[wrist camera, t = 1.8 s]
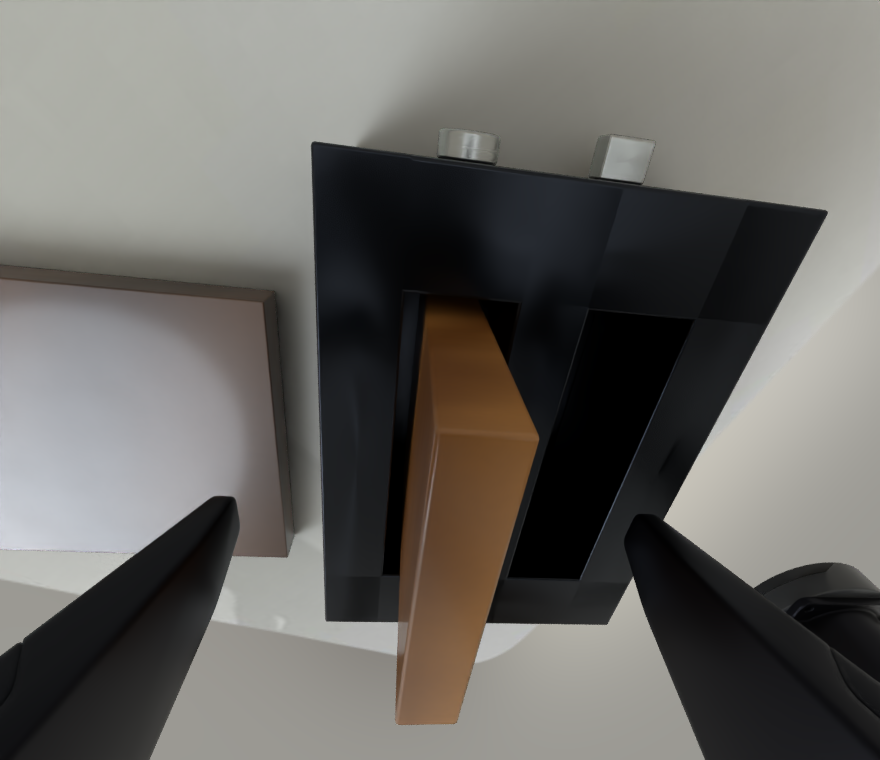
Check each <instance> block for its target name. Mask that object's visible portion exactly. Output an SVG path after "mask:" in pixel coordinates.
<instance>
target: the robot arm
mask: <svg viewBox="0 0 880 760" xmlns="http://www.w3.org/2000/svg"><path fill="white" fill-rule="evenodd" d="M239 531H240V520H239V514H238V508H237V502H236V499H235V498H234V497H232V496H213V497H211V498H210V499H208V500H207V501H206V502H204V503H203V504H202V505H200V506H199V507H198V508H196V509H195V510H194V511H192V512H191V513H190V514H188V515H187V516H186V517H184V518H183V519H182V520H180V521H179V522H178V523H176V524H175V525H174V526H172V527H171V528H170V529H169V530H167V531H166V532H165V533H163V534H162V535H161V536H159V537H158V538H157V539H155V540H154V541H153V542H151V543H150V544H149V545H147V546H146V547H145V548H143V549H142V550H141V551H139V552H138V553H137V554H135V555H134V556H133V557H131V558H130V559H129V560H127V561H126V562H125V563H123V564H122V565H121V566H119V567H118V568H117V569H115V570H114V571H113V572H111V573H110V574H109V575H107V576H106V577H105V578H103V579H102V580H101V581H100V582H98V583H97V584H96V585H94V586H93V587H92V588H90V589H89V590H88V591H86V592H85V593H84V594H82V595H81V596H80V597H78V598H77V599H76V600H74V601H73V602H72V603H70V604H69V605H68V606H66V607H65V608H64V609H62V610H61V611H60V612H59V613H57V614H56V615H54V616H53V617H52V618H50V619H49V620H48V621H46V622H45V623H44V624H42V625H41V626H40V627H38V628H37V629H36V630H34V631H33V632H32V633H30V634H29V635H28V636H27V637H25V638H24V640H23V643H21V642H20V643H17V644H16V645H14V646H13V647H12V648H10V649H9V650H8V651H6V652H5V653H4V654H2V655H1V656H0V760H149V759H150V757H151V755H152V753H153V750H154V748H155V746H156V743H157V741H158V739H159V737H160V734H161V732H162V730H163V727H164V725H165V723H166V720H167V718H168V716H169V714H170V711H171V709H172V707H173V704H174V702H175V700H176V698H177V695H178V693H179V691H180V688H181V686H182V684H183V681H184V679H185V677H186V675H187V672H188V670H189V668H190V665H191V663H192V661H193V659H194V656H195V654H196V652H197V649H198V647H199V645H200V642H201V640H202V638H203V636H204V633H205V631H206V628H207V626H208V624H209V622H210V620H211V617H212V615H213V612H214V610H215V607H216V604H217V601H218V599H219V596H220V592H221V589H222V586H223V583H224V580H225V577H226V573H227V570H228V567H229V564H230V561H231V558H232V555H233V551H234V548H235V545H236V542H237V539H238V535H239ZM624 547H625V551H626V554H627V557H628V561H629V564H630V567H631V570H632V574H633V577H634V580H635V583H636V587H637V589H638V593H639V596H640V599H641V603H642V606H643V608H644V612H645V615H646V617H647V620H648V622H649V625H650V627H651V630H652V632H653V634H654V637H655V639H656V642H657V644H658V647H659V649H660V652H661V654H662V656H663V659H664V661H665V663H666V666H667V668H668V671H669V673H670V676H671V678H672V681H673V683H674V686H675V688H676V690H677V693H678V695H679V698H680V700H681V703H682V705H683V707H684V710H685V712H686V715H687V717H688V719H689V722H690V724H691V727H692V729H693V732H694V734H695V736H696V739H697V741H698V744H699V746H700V748H701V751H702V753H703V756H704V758H705V760H880V598H845V597H803V598H800V599H798V600H797V601H795V602H794V604H793V605H792V606H791V607H790V608H789V609H788V610H787V612H786V613H785V612H784V611H783V610H781V609H780V608H779V607H777V606H776V605H775V604H773V603H772V602H771V601H769V600H768V599H767V598H765V597H764V596H763V595H761V594H760V593H759V592H757V591H756V590H755V589H753V588H752V587H751V586H749V585H748V584H746V583H745V582H744V581H743V580H741V579H740V578H739V577H738V576H736V575H735V574H733V573H732V572H731V571H730V570H728V569H727V568H726V567H724V566H723V565H722V564H720V563H719V562H718V561H716V560H715V559H714V558H712V557H711V556H710V555H708V554H707V553H706V552H704V551H703V550H701V549H700V548H699V547H698V546H696V545H695V544H694V543H692V542H691V541H690V540H688V539H687V538H686V537H684V536H683V535H682V534H680V533H679V532H678V531H676V530H675V529H674V528H672V527H671V526H670V525H668V524H667V523H666V522H664V521H663V520H662V519H660V518H659V517H658V516H656V515H653V514H637V515H636V516H635V517H634V519H633V521H632V523H631V525H630V527H629V529H628V531H627V533H626V535H625V538H624Z"/></svg>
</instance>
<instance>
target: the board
mask: <svg viewBox="0 0 880 760" xmlns="http://www.w3.org/2000/svg"><path fill="white" fill-rule="evenodd" d="M213 496H232V497H234V498H235V499H236V502H237V508H238V514H239V520H240V531H239V535H238V539H237V542H236V545H235V548H234V551H233V555H232V556H250V557H286V558H287V557H288V555H289V552H290V548H291V545H292V542H293V539H294V526H293V514H292V501H291V489H290V476H289V463H288V451H287V438H286V426H285V413H284V400H283V388H282V375H281V363H280V350H279V337H278V325H277V312H276V299H275V292H274V291H269V290H258V289H248V288H237V287H227V286H216V285H206V284H195V283H185V282H174V281H164V280H153V279H143V278H132V277H122V276H111V275H101V274H90V273H80V272H69V271H59V270H48V269H38V268H27V267H17V266H6V265H0V550H34V551H70V552H106V553H138V552H139V551H141V550H142V549H143V548H145V547H146V546H147V545H149V544H150V543H151V542H153V541H154V540H155V539H157V538H158V537H159V536H161V535H162V534H163V533H165V532H166V531H167V530H169V529H170V528H171V527H172V526H174V525H175V524H176V523H178V522H179V521H180V520H182V519H183V518H184V517H186V516H187V515H188V514H190V513H191V512H192V511H194V510H195V509H196V508H198V507H199V506H200V505H202V504H203V503H204V502H206V501H207V500H208V499H210V498H211V497H213Z"/></svg>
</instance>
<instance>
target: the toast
mask: <svg viewBox="0 0 880 760" xmlns="http://www.w3.org/2000/svg"><path fill="white" fill-rule="evenodd" d="M538 442H539V435H538V433H537V431H536V428H535V426H534V424H533V422H532V420H531V417H530V415H529V413H528V411H527V408H526V406H525V404H524V402H523V399H522V397H521V395H520V393H519V390H518V388H517V386H516V384H515V382H514V379H513V377H512V375H511V373H510V370H509V368H508V366H507V364H506V361H505V359H504V357H503V355H502V352H501V350H500V348H499V346H498V344H497V341H496V339H495V337H494V335H493V332H492V330H491V328H490V326H489V323H488V321H487V319H486V317H485V314H484V312H483V310H482V308H481V306H480V303H479V301H478V299H468V298H458V297H447V296H437V295H427V294H420V300H419V311H418V321H417V331H416V342H415V352H414V363H413V373H412V383H411V394H410V404H409V415H408V425H407V436H406V446H405V456H404V467H403V497H402V527H401V557H400V587H399V617H398V647H397V677H396V707H395V721H396V724H398V725H415V724H417V725H419V724H455V723H457V720H458V717H459V713H460V710H461V706H462V703H463V699H464V696H465V693H466V689H467V686H468V682H469V679H470V675H471V672H472V669H473V665H474V662H475V658H476V655H477V652H478V648H479V645H480V641H481V638H482V634H483V631H484V628H485V624H486V621H487V617H488V614H489V610H490V607H491V603H492V600H493V597H494V593H495V590H496V586H497V583H498V579H499V576H500V573H501V569H502V566H503V562H504V559H505V555H506V552H507V549H508V545H509V542H510V538H511V535H512V531H513V528H514V525H515V521H516V518H517V514H518V511H519V507H520V504H521V501H522V497H523V494H524V490H525V487H526V483H527V480H528V477H529V473H530V470H531V466H532V463H533V459H534V456H535V453H536V449H537V446H538Z"/></svg>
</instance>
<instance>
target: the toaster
mask: <svg viewBox="0 0 880 760" xmlns="http://www.w3.org/2000/svg"><path fill="white" fill-rule="evenodd" d="M500 141H501V140H500V137H499V136H498V135H495V134H491V133H485V132H479V131H473V130H465V129H456V128H442V129H440V131H439V139H438V149H437V157H438V158H434V157H427V156H419V155H412V154H405V153H397V152H390V151H382V150H375V149H367V148H360V147H353V146H345V145H338V144H330V143H323V142H315V141H314V142H312V144H311V159H312V192H313V225H314V258H315V291H316V324H317V357H318V390H319V423H320V456H321V489H322V522H323V555H324V588H325V620H326V621H335V622H398V617H399V587H400V557H401V527H402V497H403V467H404V456H405V446H406V436H407V425H408V415H409V404H410V394H411V383H412V373H413V363H414V352H415V342H416V331H417V321H418V311H419V300H420V294H427V295H437V296H447V297H458V298H468V299H478V301H479V303H480V306H481V308H482V310H483V312H484V314H485V317H486V319H487V321H488V323H489V326H490V328H491V330H492V332H493V335H494V337H495V339H496V341H497V344H498V346H499V348H500V350H501V352H502V355H503V357H504V359H505V361H506V364H507V366H508V368H509V370H510V373H511V375H512V377H513V379H514V382H515V384H516V386H517V388H518V390H519V393H520V395H521V397H522V399H523V402H524V404H525V406H526V408H527V411H528V413H529V415H530V417H531V420H532V422H533V424H534V426H535V428H536V431H537V433H538V435H539V442H538V446H537V449H536V453H535V456H534V459H533V463H532V466H531V470H530V473H529V477H528V480H527V483H526V487H525V490H524V494H523V497H522V501H521V504H520V507H519V511H518V514H517V518H516V521H515V525H514V528H513V531H512V535H511V538H510V542H509V545H508V549H507V552H506V555H505V559H504V562H503V566H502V569H501V573H500V576H499V579H498V583H497V586H496V590H495V593H494V597H493V600H492V603H491V607H490V610H489V614H488V617H487V621H486V623H516V624H589V625H591V624H592V625H598V624H599V625H607V624H608V622H609V620H610V618H611V616H612V615H613V613H614V611H615V609H616V607H617V605H618V603H619V601H620V600H621V598H622V596H623V594H624V592H625V590H626V588H627V586H628V585H629V583H630V581H631V579H632V577H633V574H632V570H631V567H630V564H629V561H628V557H627V554H626V551H625V547H624V538H625V535H626V533H627V531H628V529H629V527H630V525H631V523H632V521H633V519H634V517H635V516H636V515H637V514H653V515H656V516H658V517H659V518H660V519H662V520H664V518H665V516H666V514H667V512H668V510H669V508H670V507H671V505H672V503H673V501H674V499H675V497H676V495H677V494H678V492H679V490H680V488H681V486H682V484H683V482H684V480H685V479H686V477H687V475H688V473H689V471H690V469H691V467H692V466H693V464H694V462H695V460H696V458H697V456H698V454H699V453H700V451H701V449H702V447H703V445H704V443H705V441H706V440H707V438H708V436H709V434H710V432H711V430H712V428H713V426H714V425H715V423H716V421H717V419H718V417H719V415H720V413H721V412H722V410H723V408H724V406H725V404H726V402H727V400H728V399H729V397H730V395H731V393H732V391H733V389H734V387H735V386H736V384H737V382H738V380H739V378H740V376H741V374H742V372H743V371H744V369H745V367H746V365H747V363H748V361H749V359H750V358H751V356H752V354H753V352H754V350H755V348H756V346H757V345H758V343H759V341H760V339H761V337H762V335H763V333H764V331H765V330H766V328H767V326H768V324H769V322H770V320H771V318H772V317H773V315H774V313H775V311H776V309H777V307H778V305H779V304H780V302H781V300H782V298H783V296H784V294H785V292H786V290H787V289H788V287H789V285H790V283H791V281H792V279H793V277H794V276H795V274H796V272H797V270H798V268H799V266H800V264H801V263H802V261H803V259H804V257H805V255H806V253H807V251H808V250H809V248H810V246H811V244H812V242H813V240H814V238H815V236H816V235H817V233H818V231H819V229H820V227H821V225H822V223H823V222H824V220H825V218H826V216H827V214H828V212H827V211H826V210H821V209H813V208H806V207H799V206H791V205H784V204H776V203H769V202H761V201H754V200H746V199H739V198H732V197H724V196H717V195H709V194H702V193H694V192H687V191H680V190H672V189H665V188H657V187H650V186H642V184H643V182H644V179H645V176H646V173H647V169H648V166H649V163H650V160H651V157H652V154H653V151H654V148H655V145H656V142H655V141H654V140H649V139H642V138H635V137H629V136H622V135H615V134H610V135H602V136H599V138H598V141H597V145H596V148H595V152H594V156H593V160H592V164H591V167H590V171H589V175H588V178H583V177H575V176H568V175H561V174H553V173H546V172H538V171H531V170H523V169H516V168H509V167H501V166H494V165H496V163H497V159H498V153H499V147H500Z"/></svg>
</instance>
